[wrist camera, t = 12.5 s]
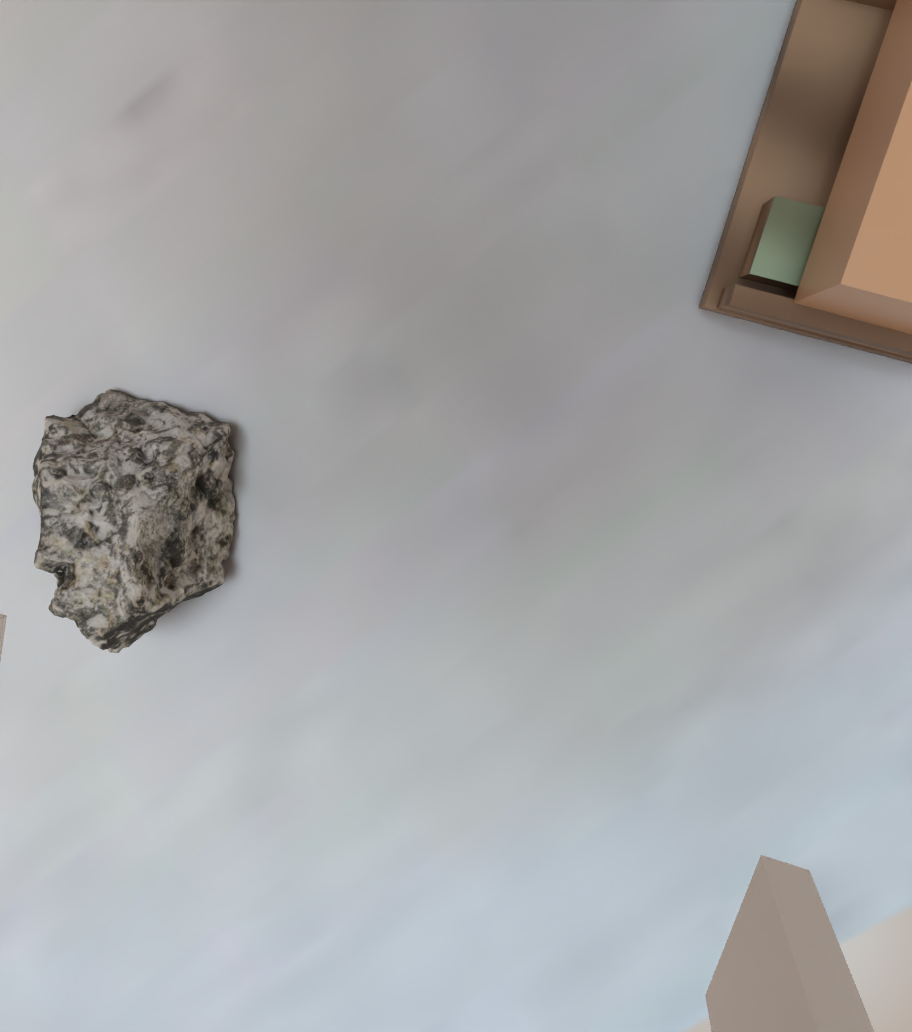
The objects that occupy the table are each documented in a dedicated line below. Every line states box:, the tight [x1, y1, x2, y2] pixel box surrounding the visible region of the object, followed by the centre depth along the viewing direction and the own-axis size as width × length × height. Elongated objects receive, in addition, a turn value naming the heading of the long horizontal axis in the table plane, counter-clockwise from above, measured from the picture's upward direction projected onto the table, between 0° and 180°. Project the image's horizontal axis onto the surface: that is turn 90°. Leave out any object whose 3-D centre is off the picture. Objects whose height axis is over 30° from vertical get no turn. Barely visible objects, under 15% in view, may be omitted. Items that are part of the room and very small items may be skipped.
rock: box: [32, 389, 236, 653], centre depth 43 cm, size 13×10×10 cm
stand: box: [699, 0, 912, 363], centre depth 34 cm, size 17×10×6 cm, turn 166°
